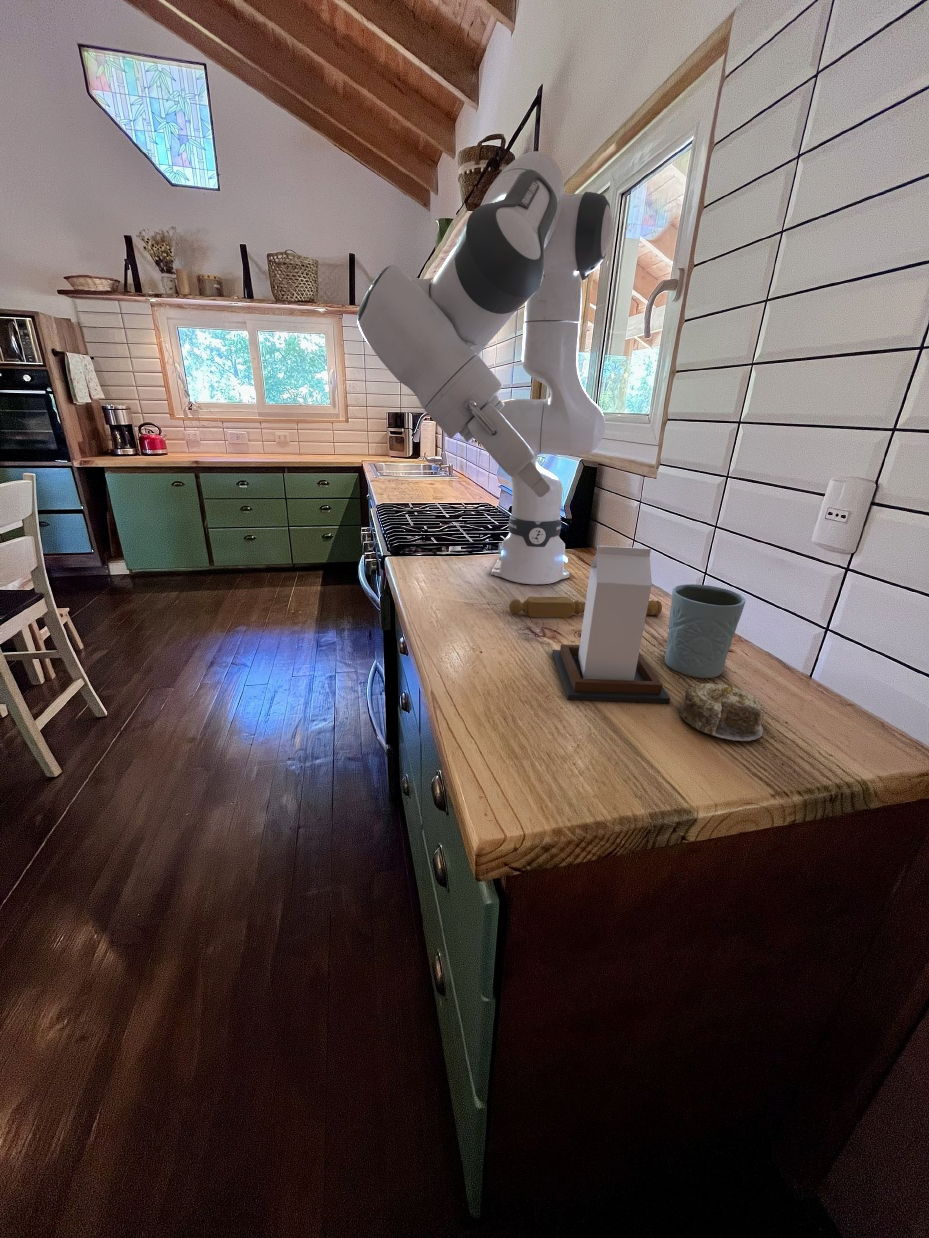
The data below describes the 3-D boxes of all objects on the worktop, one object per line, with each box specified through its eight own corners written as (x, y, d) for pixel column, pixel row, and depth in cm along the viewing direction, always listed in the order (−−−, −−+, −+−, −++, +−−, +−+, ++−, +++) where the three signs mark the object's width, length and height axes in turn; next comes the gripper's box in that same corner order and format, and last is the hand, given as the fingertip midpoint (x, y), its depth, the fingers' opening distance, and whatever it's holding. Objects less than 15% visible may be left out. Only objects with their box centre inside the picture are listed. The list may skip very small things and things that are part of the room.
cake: (661, 709, 68) (667, 673, 66) (721, 701, 70) (728, 666, 69) (715, 748, 59) (724, 707, 57) (782, 737, 61) (792, 698, 60)
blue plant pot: (694, 685, 73) (713, 609, 68) (644, 656, 81) (658, 587, 77) (741, 672, 77) (761, 600, 72) (689, 646, 85) (704, 580, 81)
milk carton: (633, 684, 71) (657, 555, 64) (582, 680, 72) (601, 552, 64) (623, 662, 77) (644, 542, 70) (577, 658, 78) (593, 539, 71)
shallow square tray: (552, 654, 81) (553, 641, 80) (637, 657, 81) (640, 644, 80) (567, 699, 68) (569, 685, 67) (669, 703, 68) (672, 688, 67)
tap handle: (664, 603, 96) (511, 602, 94) (661, 617, 97) (509, 617, 95) (657, 597, 99) (508, 596, 97) (654, 612, 100) (507, 611, 98)
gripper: (489, 376, 50) (575, 480, 54) (484, 386, 69) (548, 462, 72) (444, 422, 52) (530, 520, 55) (451, 420, 70) (515, 493, 74)
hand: (540, 487), depth 64 cm, fingers open, 8 cm apart
